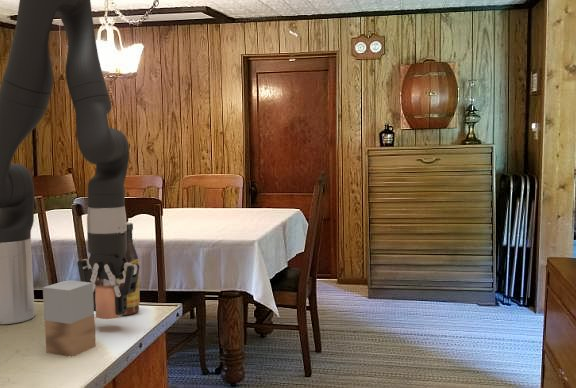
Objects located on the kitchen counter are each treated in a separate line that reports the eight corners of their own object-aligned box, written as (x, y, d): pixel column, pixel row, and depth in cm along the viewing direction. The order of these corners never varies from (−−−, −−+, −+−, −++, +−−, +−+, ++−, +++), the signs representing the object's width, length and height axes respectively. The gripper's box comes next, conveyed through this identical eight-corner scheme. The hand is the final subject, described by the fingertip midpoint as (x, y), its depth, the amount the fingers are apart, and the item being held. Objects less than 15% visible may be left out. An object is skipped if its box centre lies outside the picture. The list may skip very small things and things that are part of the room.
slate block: (44, 320, 108) (42, 287, 107) (68, 311, 113) (67, 280, 113) (70, 323, 105) (68, 290, 105) (94, 314, 111) (92, 282, 110)
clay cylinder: (90, 317, 120) (89, 287, 119) (107, 310, 125) (106, 282, 124) (111, 320, 118) (110, 290, 118) (127, 313, 123) (127, 284, 122)
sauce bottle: (132, 317, 130) (128, 225, 128) (105, 315, 131) (102, 225, 129) (145, 308, 136) (142, 221, 134) (119, 307, 137) (116, 221, 135)
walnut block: (46, 352, 108) (44, 320, 108) (70, 342, 114) (69, 311, 113) (72, 357, 106) (70, 323, 105) (95, 346, 111) (94, 314, 111)
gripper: (65, 229, 119) (68, 313, 121) (124, 234, 113) (126, 322, 115) (91, 224, 126) (93, 303, 128) (148, 228, 120) (149, 311, 122)
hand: (109, 311), depth 121 cm, fingers closed on clay cylinder, 5 cm apart
